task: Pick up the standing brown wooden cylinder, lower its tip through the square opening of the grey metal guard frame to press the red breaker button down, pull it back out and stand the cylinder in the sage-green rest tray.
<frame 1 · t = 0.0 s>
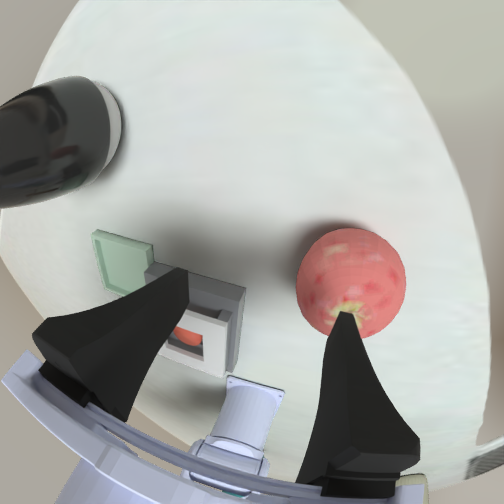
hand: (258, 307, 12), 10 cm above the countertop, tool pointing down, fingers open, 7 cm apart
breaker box: (198, 316, 30), on the countertop
pump dispenser: (100, 123, 21), on the countertop
breaker button: (189, 330, 28), point 2 cm above the countertop, slide at 0.0 cm
rest tray: (127, 266, 29), on the countertop
apple: (349, 253, 21), on the countertop
canister: (406, 477, 50), on the countertop
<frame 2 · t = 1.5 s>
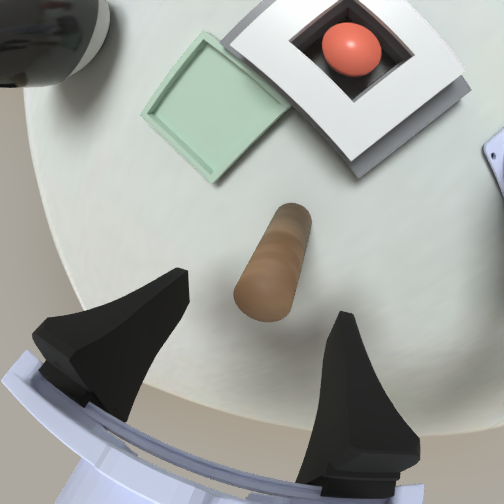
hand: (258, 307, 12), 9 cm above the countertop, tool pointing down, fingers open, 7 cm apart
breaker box: (349, 56, 13), on the countertop
pump dispenser: (89, 33, 15), on the countertop
breaker button: (351, 50, 11), point 2 cm above the countertop, slide at 0.0 cm
rest tray: (213, 105, 17), on the countertop
brown wooden cylinder: (292, 220, 20), on the countertop
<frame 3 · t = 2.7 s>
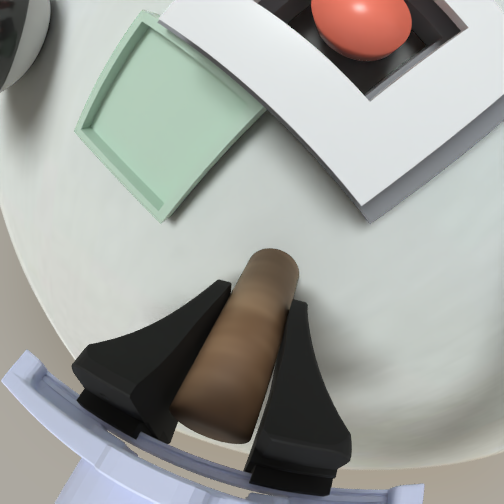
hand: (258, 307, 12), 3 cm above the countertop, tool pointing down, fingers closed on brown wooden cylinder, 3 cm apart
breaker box: (356, 32, 8), on the countertop
pump dispenser: (34, 34, 10), on the countertop
breaker button: (360, 17, 6), point 2 cm above the countertop, slide at 0.0 cm
rest tray: (159, 112, 12), on the countertop
brown wooden cylinder: (273, 271, 15), on the countertop, touching gripper
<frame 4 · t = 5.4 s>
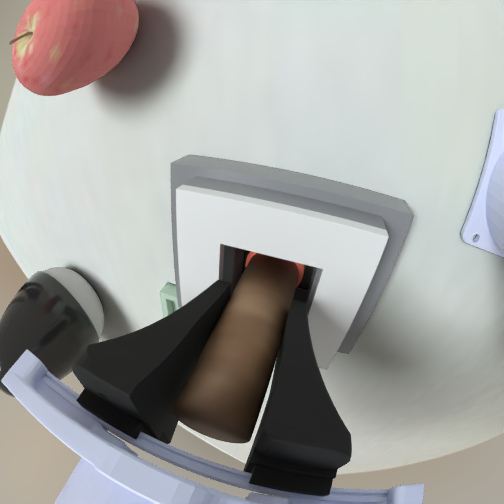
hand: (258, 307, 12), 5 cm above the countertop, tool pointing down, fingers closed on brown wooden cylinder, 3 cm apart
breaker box: (280, 253, 16), on the countertop
pump dispenser: (84, 291, 26), on the countertop
breaker button: (276, 262, 16), point 1 cm above the countertop, slide at 1.2 cm, touching brown wooden cylinder
rest tray: (214, 332, 22), on the countertop
brown wooden cylinder: (272, 272, 15), point 2 cm above the countertop, touching breaker button, gripper
apple: (119, 35, 12), on the countertop
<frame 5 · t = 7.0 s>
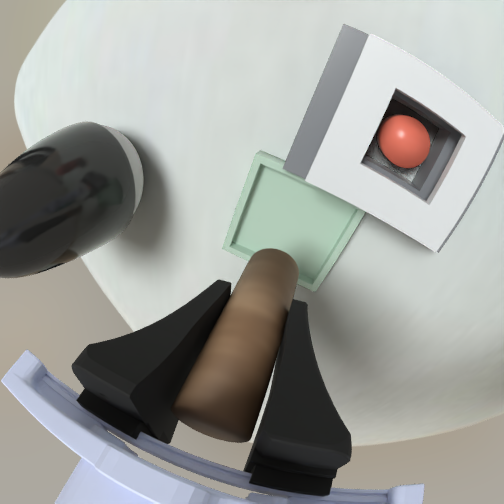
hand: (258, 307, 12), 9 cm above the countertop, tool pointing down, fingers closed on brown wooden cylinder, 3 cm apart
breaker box: (399, 138, 15), on the countertop
pump dispenser: (118, 168, 22), on the countertop
breaker button: (403, 140, 14), point 1 cm above the countertop, slide at 1.2 cm
rest tray: (292, 222, 20), on the countertop
brown wooden cylinder: (273, 270, 15), point 6 cm above the countertop, touching gripper
when the fingers open (4 cm above the countertop, at t = 8.0 s): brown wooden cylinder stays where it is, resting on rest tray.
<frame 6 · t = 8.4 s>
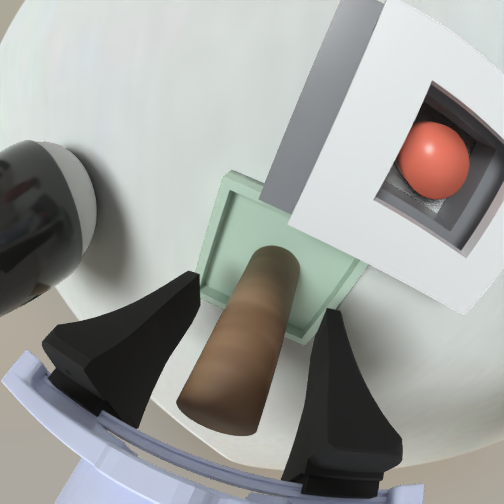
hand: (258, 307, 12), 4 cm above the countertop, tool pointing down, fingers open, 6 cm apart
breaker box: (424, 153, 10), on the countertop
pump dispenser: (73, 190, 17), on the countertop
breaker button: (431, 158, 9), point 1 cm above the countertop, slide at 1.2 cm
rest tray: (276, 263, 15), on the countertop
brown wooden cylinder: (274, 267, 15), resting on rest tray
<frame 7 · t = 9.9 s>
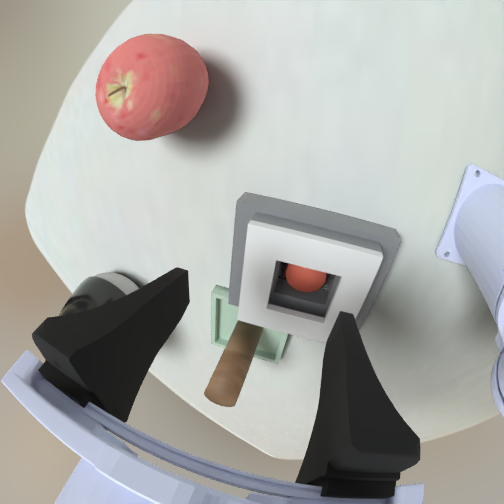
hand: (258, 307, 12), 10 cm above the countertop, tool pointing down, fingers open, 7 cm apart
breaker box: (308, 263, 23), on the countertop
pump dispenser: (129, 293, 32), on the countertop
breaker button: (306, 270, 22), point 1 cm above the countertop, slide at 1.2 cm
rest tray: (250, 323, 28), on the countertop
brown wooden cylinder: (249, 326, 28), resting on rest tray
apple: (182, 85, 18), on the countertop
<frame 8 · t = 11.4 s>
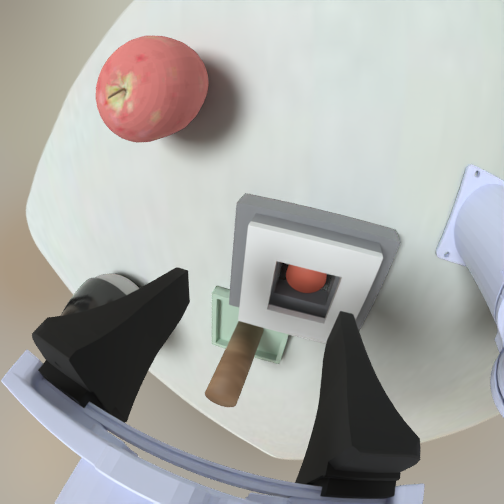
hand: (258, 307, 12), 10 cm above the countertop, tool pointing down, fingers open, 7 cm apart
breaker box: (308, 264, 23), on the countertop
pump dispenser: (130, 293, 32), on the countertop
breaker button: (307, 271, 22), point 1 cm above the countertop, slide at 1.2 cm
rest tray: (251, 324, 28), on the countertop
brown wooden cylinder: (250, 327, 28), resting on rest tray
apple: (182, 87, 18), on the countertop
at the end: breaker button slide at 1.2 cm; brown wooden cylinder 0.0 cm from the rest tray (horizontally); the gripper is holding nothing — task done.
